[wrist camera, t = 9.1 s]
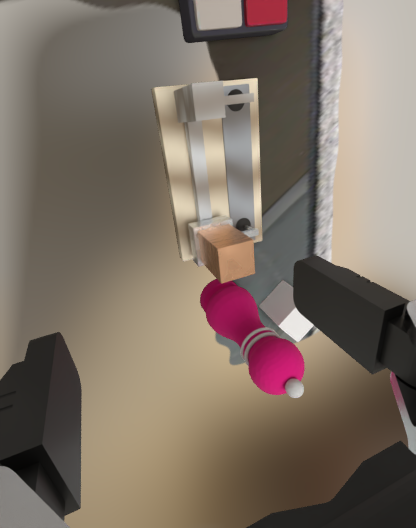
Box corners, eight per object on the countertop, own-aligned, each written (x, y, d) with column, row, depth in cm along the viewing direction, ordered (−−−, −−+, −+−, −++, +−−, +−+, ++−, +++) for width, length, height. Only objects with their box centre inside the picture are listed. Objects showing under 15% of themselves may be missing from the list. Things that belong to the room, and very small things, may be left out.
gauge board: (151, 89, 31) (168, 78, 25) (251, 79, 35) (288, 68, 28) (180, 257, 40) (198, 281, 34) (257, 237, 44) (286, 255, 37)
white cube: (258, 306, 49) (278, 326, 44) (282, 279, 49) (305, 296, 44) (277, 322, 52) (298, 342, 47) (300, 297, 52) (323, 315, 47)
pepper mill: (212, 324, 47) (284, 433, 30) (187, 295, 43) (255, 402, 26) (247, 295, 47) (338, 388, 30) (226, 265, 44) (317, 351, 27)
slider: (187, 222, 36) (212, 245, 29) (249, 208, 38) (286, 226, 31) (192, 259, 38) (217, 289, 31) (250, 244, 40) (286, 268, 33)
